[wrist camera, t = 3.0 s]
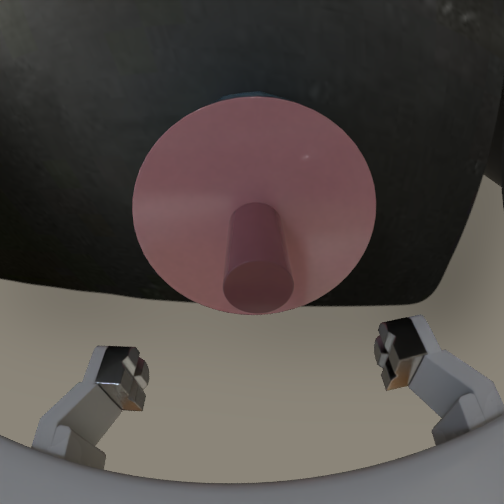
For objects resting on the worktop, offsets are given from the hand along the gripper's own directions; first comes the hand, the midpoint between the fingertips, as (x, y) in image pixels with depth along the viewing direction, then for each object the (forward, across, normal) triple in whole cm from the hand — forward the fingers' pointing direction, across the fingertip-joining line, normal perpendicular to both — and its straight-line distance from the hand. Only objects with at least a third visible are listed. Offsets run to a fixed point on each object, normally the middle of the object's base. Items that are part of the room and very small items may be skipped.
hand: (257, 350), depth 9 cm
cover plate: (+8, 0, 0) cm, 9 cm away
